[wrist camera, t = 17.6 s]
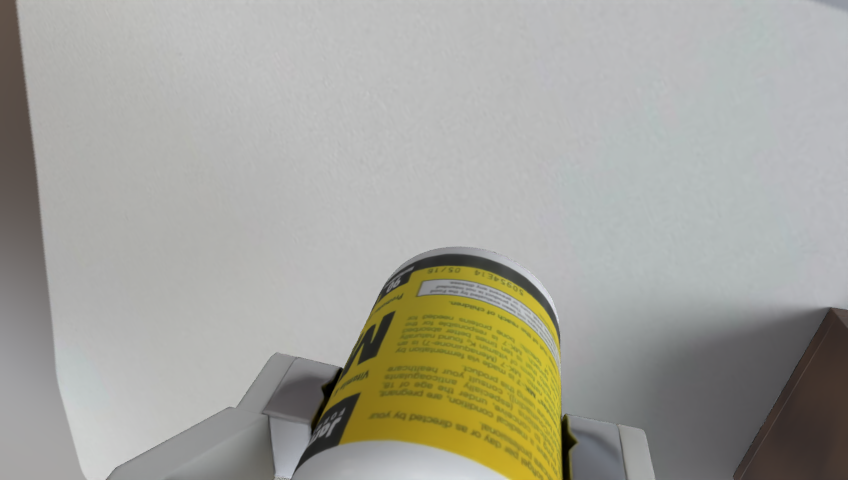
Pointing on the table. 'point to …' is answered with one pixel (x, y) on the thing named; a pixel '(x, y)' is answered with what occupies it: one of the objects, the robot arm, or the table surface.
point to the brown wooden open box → (808, 415)
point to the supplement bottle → (448, 379)
